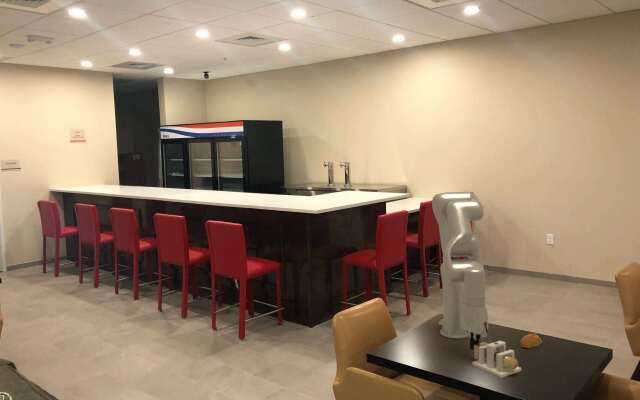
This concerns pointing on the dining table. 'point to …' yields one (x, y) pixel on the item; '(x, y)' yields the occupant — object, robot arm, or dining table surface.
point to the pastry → (530, 341)
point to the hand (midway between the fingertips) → (474, 348)
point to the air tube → (507, 360)
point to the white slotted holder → (489, 362)
